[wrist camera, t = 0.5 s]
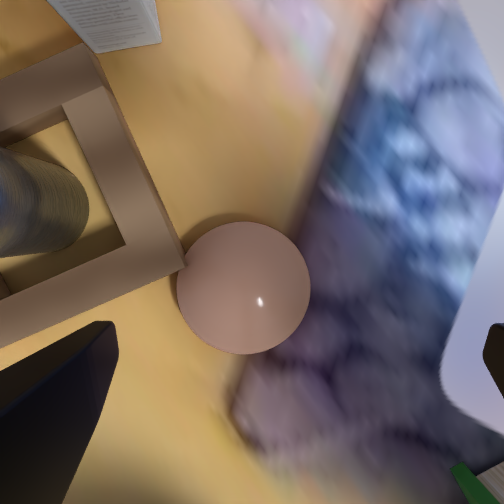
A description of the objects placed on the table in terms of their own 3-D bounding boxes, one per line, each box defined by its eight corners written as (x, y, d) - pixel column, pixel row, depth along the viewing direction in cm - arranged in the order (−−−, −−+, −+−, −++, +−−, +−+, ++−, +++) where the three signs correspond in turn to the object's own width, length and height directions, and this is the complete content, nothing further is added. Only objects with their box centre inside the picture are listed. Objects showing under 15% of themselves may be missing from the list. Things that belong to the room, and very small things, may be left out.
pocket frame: (190, 264, 22) (185, 267, 20) (-6, 350, 22) (-29, 360, 21) (97, 57, 21) (83, 42, 19) (-106, 149, 22) (-139, 142, 20)
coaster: (285, 365, 23) (286, 370, 22) (163, 328, 22) (160, 332, 22) (325, 244, 22) (328, 244, 21) (200, 205, 22) (198, 204, 21)
